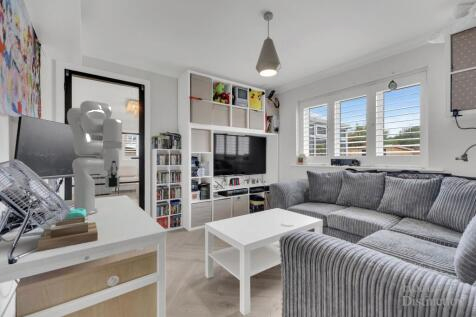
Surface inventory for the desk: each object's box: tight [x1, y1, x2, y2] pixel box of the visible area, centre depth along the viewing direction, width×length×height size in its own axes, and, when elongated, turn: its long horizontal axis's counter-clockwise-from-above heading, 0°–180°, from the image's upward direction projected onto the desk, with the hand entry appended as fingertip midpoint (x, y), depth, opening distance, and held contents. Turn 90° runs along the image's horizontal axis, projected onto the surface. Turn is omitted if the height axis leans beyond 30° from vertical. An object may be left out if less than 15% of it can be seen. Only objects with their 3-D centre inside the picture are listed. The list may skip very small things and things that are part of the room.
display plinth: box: [37, 215, 99, 252], centre depth 84 cm, size 16×17×7 cm
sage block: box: [104, 175, 120, 189], centre depth 97 cm, size 5×5×5 cm
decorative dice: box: [65, 208, 87, 219], centre depth 96 cm, size 8×8×8 cm
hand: (112, 185), depth 97 cm, fingers closed on sage block, 5 cm apart
